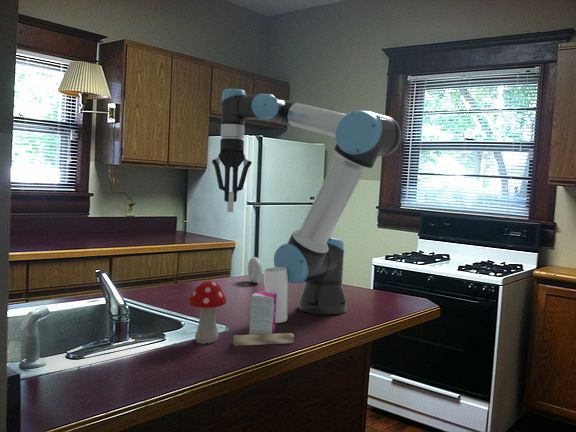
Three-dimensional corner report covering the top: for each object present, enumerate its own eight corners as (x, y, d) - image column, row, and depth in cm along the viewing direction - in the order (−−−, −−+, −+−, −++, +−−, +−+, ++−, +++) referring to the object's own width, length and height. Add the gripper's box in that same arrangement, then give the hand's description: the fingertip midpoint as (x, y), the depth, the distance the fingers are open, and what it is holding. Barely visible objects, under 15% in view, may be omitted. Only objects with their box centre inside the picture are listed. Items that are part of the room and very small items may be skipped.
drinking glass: (276, 316, 168) (273, 266, 166) (294, 319, 164) (291, 267, 162) (261, 322, 162) (258, 270, 161) (280, 325, 158) (277, 272, 157)
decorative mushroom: (209, 348, 136) (210, 286, 135) (180, 342, 140) (182, 281, 139) (232, 338, 145) (234, 280, 144) (204, 333, 149) (206, 276, 148)
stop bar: (291, 340, 145) (291, 332, 145) (293, 342, 143) (293, 335, 143) (233, 343, 141) (233, 335, 141) (234, 345, 139) (234, 337, 139)
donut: (246, 280, 224) (246, 255, 223) (254, 280, 226) (255, 255, 225) (254, 285, 215) (255, 259, 214) (263, 285, 216) (264, 259, 216)
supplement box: (271, 341, 143) (272, 296, 142) (248, 339, 144) (249, 295, 143) (275, 335, 149) (277, 292, 148) (253, 333, 150) (254, 290, 149)
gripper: (249, 140, 188) (247, 211, 189) (210, 138, 184) (208, 210, 186) (254, 139, 181) (252, 213, 182) (213, 136, 177) (211, 212, 179)
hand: (230, 211), depth 184 cm, fingers closed
